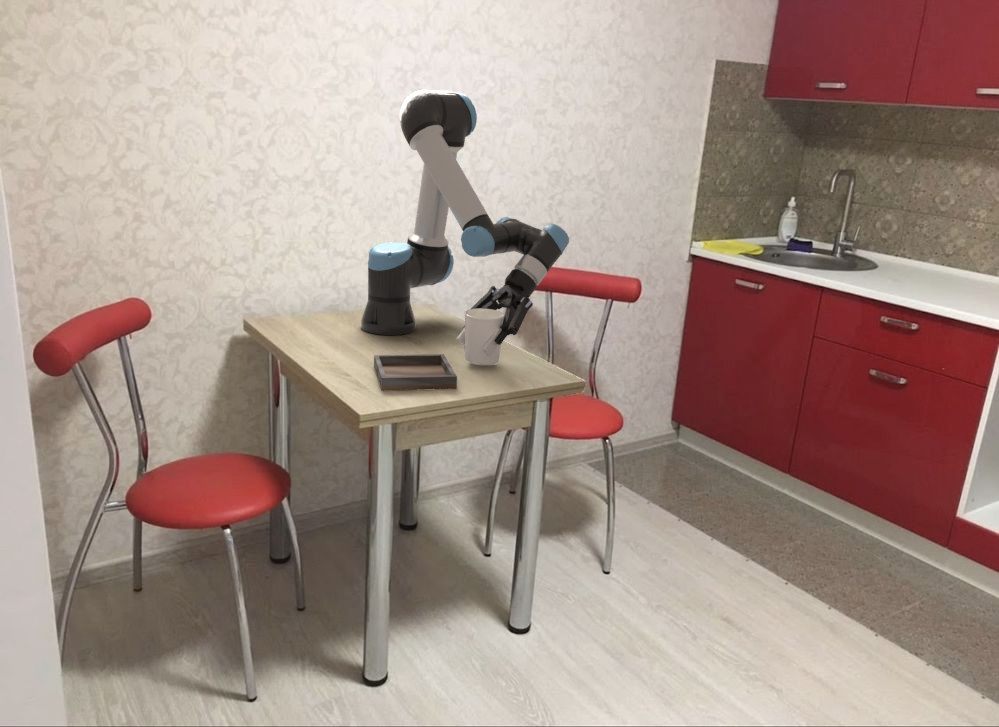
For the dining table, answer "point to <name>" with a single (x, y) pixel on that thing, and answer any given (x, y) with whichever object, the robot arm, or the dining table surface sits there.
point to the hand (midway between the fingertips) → (472, 347)
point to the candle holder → (481, 335)
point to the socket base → (414, 372)
